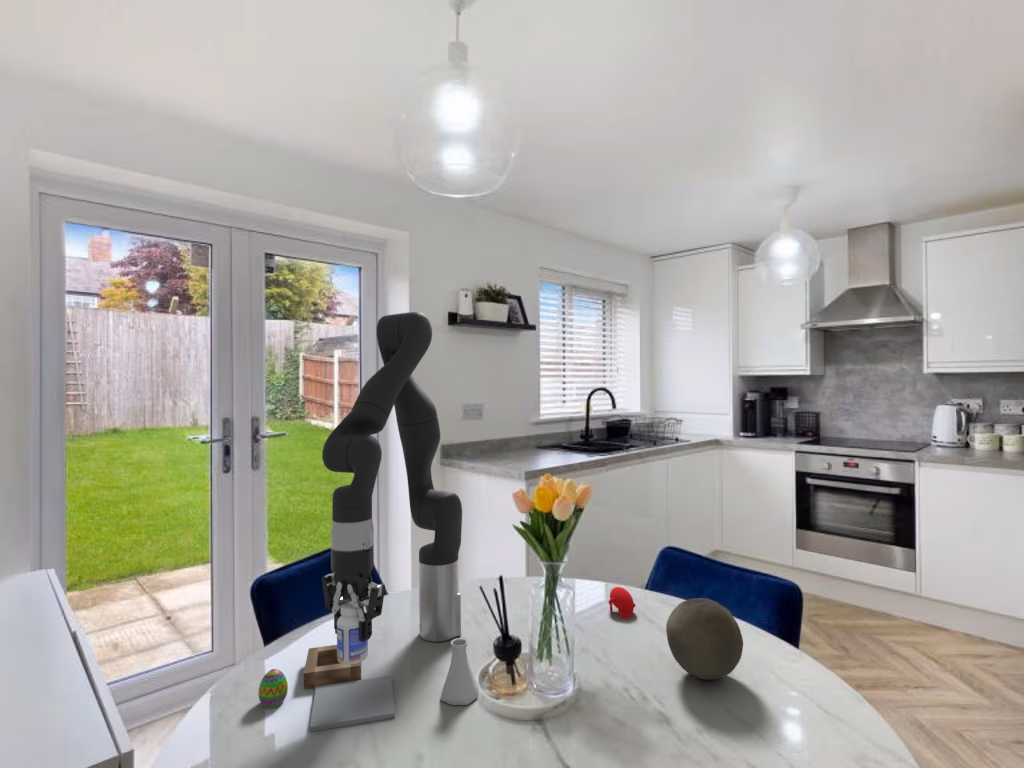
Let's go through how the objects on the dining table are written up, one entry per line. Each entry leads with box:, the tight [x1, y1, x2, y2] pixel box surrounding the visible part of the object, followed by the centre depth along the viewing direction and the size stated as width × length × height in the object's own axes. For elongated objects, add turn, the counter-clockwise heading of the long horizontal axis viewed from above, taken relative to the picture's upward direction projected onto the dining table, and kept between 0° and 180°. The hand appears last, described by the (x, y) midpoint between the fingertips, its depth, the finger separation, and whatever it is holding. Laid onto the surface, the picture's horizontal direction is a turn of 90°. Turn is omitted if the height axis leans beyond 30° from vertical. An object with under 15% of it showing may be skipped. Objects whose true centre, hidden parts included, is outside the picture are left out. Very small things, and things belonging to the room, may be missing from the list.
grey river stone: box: [665, 597, 744, 681], centre depth 106 cm, size 14×14×15 cm
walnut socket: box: [303, 644, 362, 690], centre depth 110 cm, size 11×11×3 cm
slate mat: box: [309, 674, 396, 733], centre depth 99 cm, size 14×13×1 cm
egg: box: [258, 668, 289, 709], centre depth 99 cm, size 5×5×6 cm
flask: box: [439, 637, 479, 706], centre depth 101 cm, size 7×7×10 cm
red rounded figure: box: [608, 586, 636, 620], centre depth 137 cm, size 8×6×6 cm
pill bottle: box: [336, 600, 369, 665], centre depth 99 cm, size 5×5×10 cm
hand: (352, 636), depth 99 cm, fingers closed on pill bottle, 5 cm apart
